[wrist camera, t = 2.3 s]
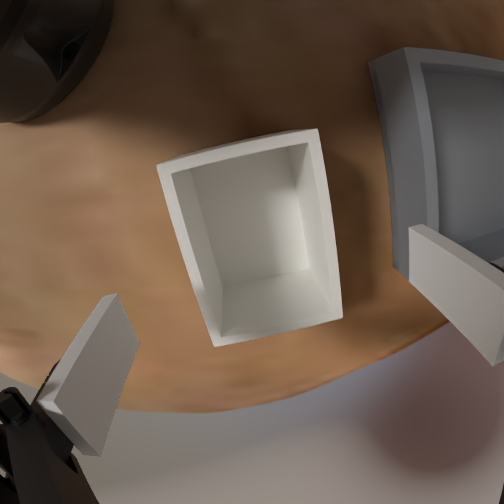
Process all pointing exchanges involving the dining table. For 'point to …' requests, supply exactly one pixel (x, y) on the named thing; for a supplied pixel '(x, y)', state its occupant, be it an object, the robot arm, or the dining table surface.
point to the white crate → (256, 234)
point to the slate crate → (443, 147)
